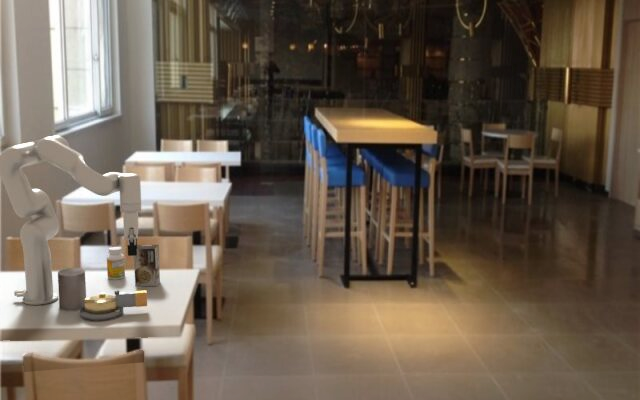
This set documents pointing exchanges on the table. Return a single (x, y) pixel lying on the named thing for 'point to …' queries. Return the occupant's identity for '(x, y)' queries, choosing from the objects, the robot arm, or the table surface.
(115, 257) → the supplement bottle
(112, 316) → the base plate
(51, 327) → the table surface
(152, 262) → the coffee box
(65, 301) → the pillar candle
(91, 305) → the gold disc lever
